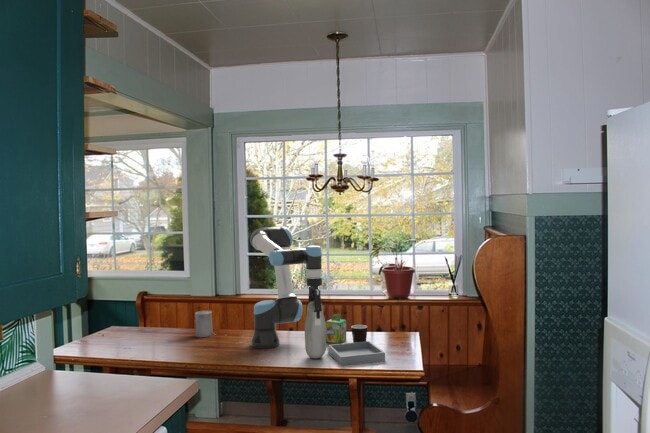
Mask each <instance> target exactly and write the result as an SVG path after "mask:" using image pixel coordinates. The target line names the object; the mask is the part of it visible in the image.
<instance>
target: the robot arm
mask: <svg viewBox="0 0 650 433" xmlns="http://www.w3.org/2000/svg"><path fill="white" fill-rule="evenodd" d="M291 232H292V231H291V230H290V229H289V228H288V227H286V226H273V227H271V226H270V227H267V226H266V227H260V228H257V229H255V230H254V231H253V232H252V233H251V236H250V238H249V241H250V245H251V246H252V247H253V248H254V249H255V250H256V251H260V252H262V253H263V254H264V255H266V256H267V257H268V260H269V263H270V265H271V266H272V267H274V274H275V280H276V288H277V297H276V299H275V300H274V299H269V300H268V299H266V300H261V301H259V302H256V303H255V304H254V306H253V312H252V313H253V328H254V329H253V330H254V331H253V334H252V337H251V343H250V345H251V347H252V348H255V349H270V348H272V349H273V348H275V347H276V348H277V347H278V346H279V345H280V338H279V334H278V332H277V325H280V324H287V323H289V324H290V323H295V322H298V321H300V319H302V315H303V308H304V307H303V303H302V301H301V299H298V297H297V295H296V294H295V293H294V285H293V281H292V280H293V279H292V273H291V267H290V266H292V265H303V264H304V265H306V266H305V271H306V272H305V274H306V286H307V287H308V300H307V302H308V303H307V305H308V304H309V303H310V302H311V301H314V305H315V311H314V312H315V326H316V325H321V311H322V307H323V306H322V307H321V304H322V299H321V298H322V297H321V292H322V291H321V290H320V289H319V287H321V286H322V285H323V279H322V275H323V274H322V273H323V268H322V247H321V246H320V245H307V246H306V247H303V248H302V247H301V248H293V249H291V246H292V245H293V234H292V233H291ZM318 308H319V309H318Z"/></svg>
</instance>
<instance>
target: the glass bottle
mask: <svg viewBox="0 0 650 433" xmlns="http://www.w3.org/2000/svg"><path fill="white" fill-rule="evenodd" d="M321 307H322V311H321V325H316V326H315V312H314V311H315V305H314V301H311V302H310V303H309V304H308V303H307V308H306V309H307V310H306V317H305V322H304V346H305V347H304V349H305V352H306V353H305V354H307V356H308V357H309V358H311V359H320V358H322V357H323V356H324V354H325V353H326V349H327V342H326V321H325V320H326V319H325V316H324V310H323V309H324V308H323V304H322V303H321ZM318 309H319V308H318Z"/></svg>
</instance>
